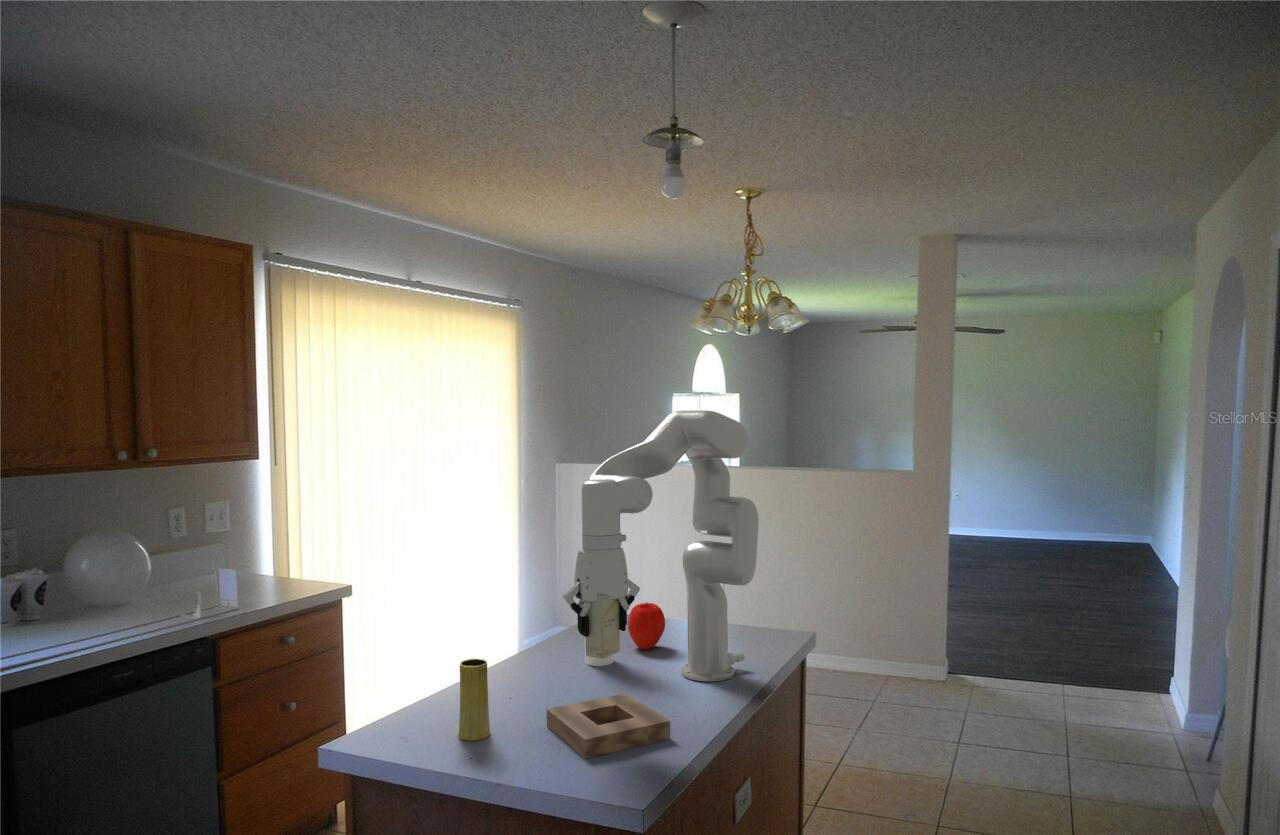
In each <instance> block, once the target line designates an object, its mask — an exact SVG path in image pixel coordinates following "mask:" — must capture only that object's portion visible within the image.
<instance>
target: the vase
mask: <svg viewBox="0 0 1280 835" xmlns="http://www.w3.org/2000/svg"><path fill="white" fill-rule="evenodd" d="M488 682H489V681H488V662H487V660H486V659H483V658H470V659H465V660H462V661H461V662H460V663H459V726H458V727H459V729H458V734H457V735H458V738H459V739H460V740H463V741H467V742H468V741H469V742H474V741H481V740H485V739H486V738H488V737H489V736H490V735H491V731H490V730H491V728H490V712H489V688H488V687H489V685H488Z"/></svg>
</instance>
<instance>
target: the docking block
mask: <svg viewBox="0 0 1280 835" xmlns="http://www.w3.org/2000/svg"><path fill="white" fill-rule="evenodd" d="M546 727H547V728H548V727H549V728H550V729H549V730H551V731H552V732H553V733H554V734H555V733H556V736H558V737H559V738H560V739H561V740H563V741H564V742H565V743H566V744H567V745H569V747H571V748H572V749H573V750H574V751H575V752H577V754H579V755H580V756H581V757H583V758H584V759H585V760H586V759H590V758H594V757H598V756H603V755H608V754H611V753H617V752H621V751H624V750H628V749H633V748H638V747H641V746H645V745H650V744H655V743H658V742H663V741H667V740H671V720H670V719H667V717H664V716H663V715H662V714H660V713H659V712H657V711H655V710H654V709H652V708H650V707H648V705H645V704H644V703H642V702H641V701H639V700H637V699H636V698H635V697H633V696H631V695H629V694H627V693H620V694H616V695H615V694H614V695H610V696H606V697H605V696H604V697H601V698H595V699H589V700H586V701H585V700H584V701H580V702H575V703H570V704H565V705H560V706H555V707H551V708H549V707H548V708H546Z"/></svg>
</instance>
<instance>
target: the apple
mask: <svg viewBox="0 0 1280 835" xmlns="http://www.w3.org/2000/svg"><path fill="white" fill-rule="evenodd" d="M665 618H666V617H665V615H664V612H663V610H662V608H661V607H659V606H658V605H657V604H656V603H653V602H652V603H651V602H647V601H646V602H644V603H639V604H636V605H634V606H633V607H632V608H631V610H630V613H629V616H628V619H627V629H628V633H629V636H630V638H631V640H632V642H634V644H635V645H636V647H637V648H638V649H640V650H642V651H643V650H650V649H651V650H652V649H653V648H654V647H655V646H656V645H657V644H658V642H659V641H660V639H661V638H662V636H663V634H664V631H665V627H666V619H665Z"/></svg>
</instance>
